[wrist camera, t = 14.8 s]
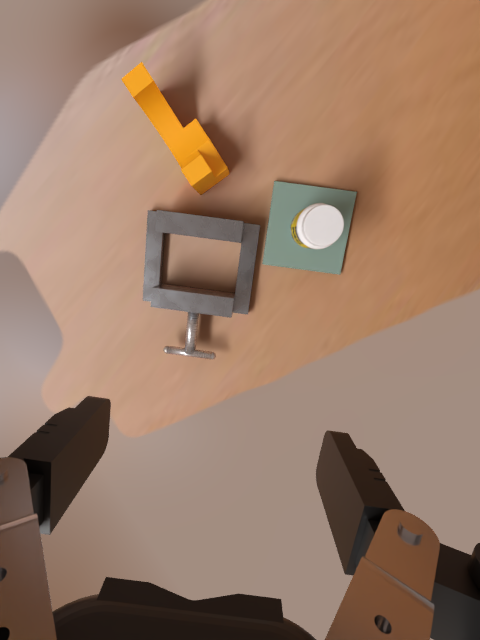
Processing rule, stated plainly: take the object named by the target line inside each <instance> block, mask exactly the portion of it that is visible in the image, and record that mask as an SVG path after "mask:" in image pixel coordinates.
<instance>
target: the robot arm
mask: <svg viewBox="0 0 480 640" xmlns="http://www.w3.org/2000/svg"><path fill="white" fill-rule="evenodd" d="M110 407H111V403H110V400H109V399H106V398H99V397H92V396H87V397H86V398H85V399H84V400H83V401H82V402H81V403H80V404H79V405H78V406H77V407H76V408H67V409H65V410H63V411H61V412H59V413H57V414H55V415H54V416H52V417H51V418H50V419H49V420H48V421H47V422H46V423H45V425H43V426H42V427H40V428H39V429H38V430H37V432H36V433H34V434H33V435H31V436H30V437H29V438H28V439H27V440H26V441H25V442H24V443H23V444H21V445H20V446H19V447H18V448H17V449H16V450H15V451H14V452H13V453H11V454H10V455H9V456H8V457H3V458H0V640H316V639H315V638H314V637H313V636H312V635H310V634H309V633H308V632H307V631H305V630H304V629H303V628H301V627H300V626H299V625H297V624H295V623H293V622H292V621H290V620H288V619H286V618H284V617H283V612H282V603H281V599H276V598H268V597H260V596H252V595H244V594H235V595H228V596H222V597H216V598H209V599H203V600H196V601H193V600H188V599H186V598H184V597H182V596H179V595H177V594H175V593H172V592H170V591H168V590H165V589H163V588H160V587H158V586H156V585H154V584H151V583H149V582H141V581H133V580H124V579H117V578H109V577H106V578H105V581H104V583H103V586H102V588H101V591H100V593H99V594H97V595H92V596H88V597H84V598H81V599H78V600H76V601H73V602H71V603H68V604H66V605H64V606H62V607H60V608H58V609H56V610H55V611H53V612H52V606H51V599H50V592H49V586H48V580H47V573H46V567H45V560H44V554H43V547H42V542H41V534H48V535H50V534H51V532H52V531H53V529H54V528H55V526H56V525H57V523H58V522H59V520H60V519H61V517H62V516H63V514H64V513H65V511H66V510H67V508H68V507H69V505H70V504H71V502H72V501H73V499H74V498H75V496H76V495H77V493H78V492H79V490H80V489H81V487H82V486H83V484H84V483H85V481H86V480H87V478H88V477H89V475H90V474H91V472H92V471H93V469H94V468H95V466H96V464H97V463H98V462H99V460H100V459H101V457H102V455H103V454H104V451H105V449H106V446H107V442H108V437H109V421H110ZM316 481H317V486H318V489H319V492H320V496H321V499H322V502H323V505H324V509H325V511H326V515H327V518H328V522H329V525H330V528H331V531H332V534H333V537H334V541H335V544H336V547H337V550H338V554H339V557H340V560H341V563H342V566H343V569H344V573H345V574H347V575H353V578H352V580H351V582H350V584H349V587H348V589H347V591H346V593H345V596H344V598H343V600H342V602H341V605H340V607H339V609H338V611H337V614H336V616H335V618H334V620H333V623H332V625H331V627H330V629H329V631H328V634H327V636H326V638H325V640H430V638H432V639H434V640H480V543H478V544H477V545H476V546H475V548H474V551H473V553H472V555H469V554H467V553H464V552H461V551H459V550H456V549H454V548H451V547H448V546H446V545H443V544H441V543H439V540H438V537H437V536H436V534H435V533H434V531H433V530H432V529H431V528H430V527H429V526H428V525H427V524H426V523H425V522H424V521H422V520H421V519H420V518H418V517H416V516H415V515H413V514H410V513H408V512H406V511H404V509H403V507H402V506H401V504H400V502H399V501H398V499H397V498H396V496H395V494H394V493H393V491H392V490H391V488H390V486H389V485H388V483H387V482H386V481H385V478H384V476H383V475H382V473H380V470H379V468H378V466H377V465H376V463H375V462H374V460H373V459H372V458H371V457H370V456H369V455H368V454H367V453H365V452H364V451H363V450H362V449H357V448H356V446H355V444H354V443H353V441H352V439H351V437H350V436H349V434H348V433H342V432H335V431H326V433H325V435H324V439H323V443H322V447H321V451H320V456H319V460H318V464H317V469H316Z"/></svg>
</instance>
